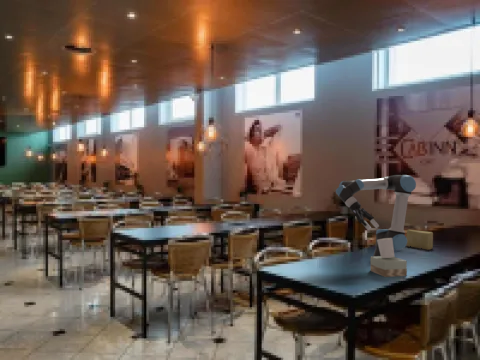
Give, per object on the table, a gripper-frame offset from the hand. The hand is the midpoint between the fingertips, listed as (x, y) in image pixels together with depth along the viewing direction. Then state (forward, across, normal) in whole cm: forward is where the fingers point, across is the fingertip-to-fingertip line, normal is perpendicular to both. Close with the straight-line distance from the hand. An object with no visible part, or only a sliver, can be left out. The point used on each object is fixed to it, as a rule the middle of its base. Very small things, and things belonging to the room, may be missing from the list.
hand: (374, 228), depth 276 cm
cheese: (+17, -116, -25) cm, 120 cm away
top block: (+24, 0, -10) cm, 26 cm away
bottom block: (+28, 0, -13) cm, 31 cm away
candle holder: (+20, 0, -6) cm, 21 cm away
